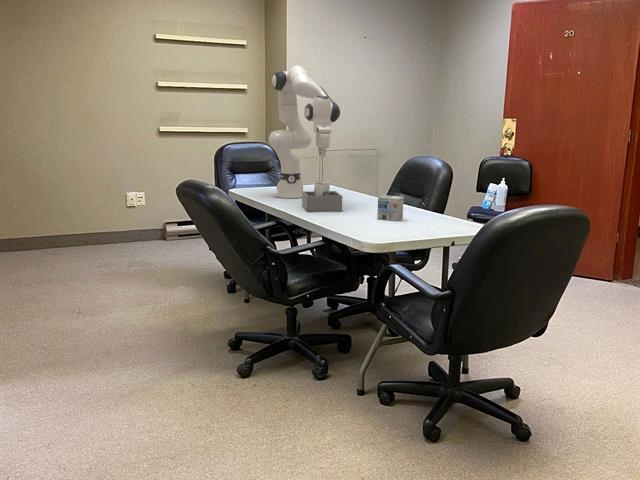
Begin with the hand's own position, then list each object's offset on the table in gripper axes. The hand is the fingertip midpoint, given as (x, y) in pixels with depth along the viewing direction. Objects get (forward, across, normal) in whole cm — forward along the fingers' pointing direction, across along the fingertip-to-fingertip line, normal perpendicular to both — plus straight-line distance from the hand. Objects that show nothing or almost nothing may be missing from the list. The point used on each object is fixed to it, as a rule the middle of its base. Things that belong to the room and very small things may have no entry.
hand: (322, 156), depth 301 cm
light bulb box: (+27, +34, +27) cm, 51 cm away
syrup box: (+27, 0, 0) cm, 27 cm away
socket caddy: (+27, 0, 0) cm, 27 cm away
